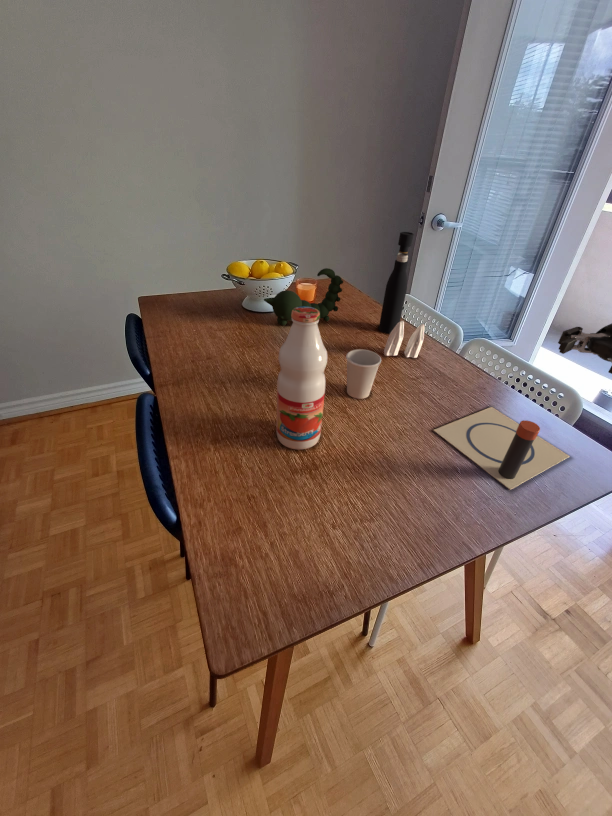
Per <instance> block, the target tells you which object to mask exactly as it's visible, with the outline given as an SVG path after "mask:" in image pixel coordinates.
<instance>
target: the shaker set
mask: <svg viewBox="0 0 612 816" xmlns="http://www.w3.org/2000/svg"><path fill="white" fill-rule="evenodd" d="M404 321H405V320H400V322H398V323H397V325H396V326H395V327H394V329H393V330H392V332H391V333H390V334H389V335H388V338H387V340H386V343H385V346H384V349H383V352H384V353H383V355H384V357H392V356H393V357H395V356H398V354H399V351H400V349H401V345H402V343H403V339H404V333H405V322H404ZM424 339H425V324H424V323H422V324H419V325H418V326H417V327H416V329H415V330H414V331H413V333H412V334H411V335H410V337H409V339H408V342H407V344H406V346H405V349H404V352H403V353H404V357H405V358H412V359H416V358H418V356H419V354H420V351H421V349H422V346H423V343H424Z"/></svg>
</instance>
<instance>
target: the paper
mask: <svg viewBox="0 0 612 816" xmlns="http://www.w3.org/2000/svg"><path fill="white" fill-rule="evenodd" d="M519 424H520V423H518V422H517V421H515V420H513V419H512V418H510V417H509V416H507V415H506V414H504V413H503V412H501V411H499V410H497V408H494V407H493V406H490V407H488V408H485V409H483V410H480V411H478V412H475V413H472V414H470V415H467V416H465V417H463V418H460V419H457V420H454V421H452V422H450V423H447V424H444V425H442V426H439V427H437V428H435V429H433V430H432V431H433V432H434V433H436V434H437V435H438V436H439V437H441V438H442V439H443V440H445V441H446V442H447V443H449V444H450V445H451V446H452V447H454V448H455V449H457V450H458V451H459V452H460V453H461V454H463V455H464V456H465V457H467V458H468V459H469V460H470V461H472V462H473V463H475V465H477V466H479V468H480V469H482V470H484V471H485V472H486V473H487V474H489V475H490V476H491V477H493V478H494V479H495V480H496V481H497V482H499V483H500V484H502V486H504V487H505V488H507V489H508V490H509V491H511V490H513V489H515V488H517V487H518V486H520V485H522V484H524V483H525V482H527V481H529V480H531V479H532V478H534V477H536V476H538V475H539V474H541V473H543V472H545V471H547V470H549V469H550V468H552V467H555V466H556V465H558V464H559V463H562V462H563V461H565V460H566V459H568V458H570V455H569V454H567V453H566V452H564V451H562V450H561V449H559V448H558V447H556V446H555V445H553V444H552V443H550V442H548V441H546V440H545V439H543V437H541V436H539V435H537V437H536V439H535V440H534V441H533V443H532V445H531V447H530V449H529V451H528V453H527V455H526V457H525V459H524V461H523V463H522V465H521V467H520V469H519V471H518V472H517V474H516V476H515V478H514V479H507V478H504V477H502V476H501V475H500V474H499V472H498V470H499V467H500V465H501V463H502V461H503V459H504V457H505V455H506V453H507V451H508V448H509V446H510V444H511V442H512V440H513V438H514V436H515V434H516V430H517V428H518V426H519Z"/></svg>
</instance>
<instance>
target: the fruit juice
mask: <svg viewBox="0 0 612 816" xmlns="http://www.w3.org/2000/svg"><path fill="white" fill-rule="evenodd" d="M291 317H292V320H291V322H292V323H291V326H290V329H289V331H288V334H287V336H286V338H285V340H284V342H283V343H282V344H281V346H280V348H279V351H278V364H279V367H280V371H279V372H278V375H277V382H276V423H275V424H276V426H275V428H276V429H275V431H276V437H277V440H278V441H279V443H280V444H281V445H283V446H284V447H286V448H288V449H292V450H307V449H310V448H312V447H314V446H315V445H316V444H317V443H318V442H319V440H320V438H321V434H322V433H321V432H322V424H323V414H324V405H325V395H326V383H327V381H326V374H325V369H326V367H327V364H328V356H329V355H328V351H327V349H326V347H325V344H324V343H323V339H322V336H321V332H320V329H319V321H320V313H319V311H318V310H317V309H315V308H313V307H307V306H301V307H296V308H294V309H293V310H292V314H291ZM317 323H318V324H317Z"/></svg>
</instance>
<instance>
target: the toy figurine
mask: <svg viewBox="0 0 612 816" xmlns="http://www.w3.org/2000/svg"><path fill="white" fill-rule="evenodd" d="M320 276H326V277H327V278H328V279H330V283H329V284H328V288H327V291H326V292H325V295H324V296H325V297H324V298H323V299H322V300H321V302H318V303H316V302H309V301H308V300H305V299H302V298H301V297H300V296H299V294H298V293H296V292H295V291H292V290H289V289H287V290H286V289H285V290H281V291H279V292H278V293H276V295H275V296H273V297H266V298H263V301H264V302H265V303H267V304H269V305H270V306H271V307H272V312H273V313H274V315H275V317H276V321H277V323H278V325H279V326H282V327H283V326H286V325H287V323H288V322H289V321H291V322H292V317H291V314H292V310H293V309H294V308H296V307H301V306H307V307H313V308H315V309H317V310H318V311H319V313H320V319H323V321H324V322H326V323H328V322H329V321H330V316H329V314H330V312H332V311H333V312H338V311H339V307H338V305H336V302H338V303H339V302H341V297H340V296H339V293H342V292H343V289H342V288H341V285H343V284H344V280H343V279H342V277H341V276H340V275H337V274H336V272H335V270H333V269H331V268H330V267H329V268H327V267H325V268H322V269H321V270H319V271H318V272H317V277H320ZM320 319H319V320H320ZM317 325H319V322H318V323H317Z"/></svg>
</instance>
